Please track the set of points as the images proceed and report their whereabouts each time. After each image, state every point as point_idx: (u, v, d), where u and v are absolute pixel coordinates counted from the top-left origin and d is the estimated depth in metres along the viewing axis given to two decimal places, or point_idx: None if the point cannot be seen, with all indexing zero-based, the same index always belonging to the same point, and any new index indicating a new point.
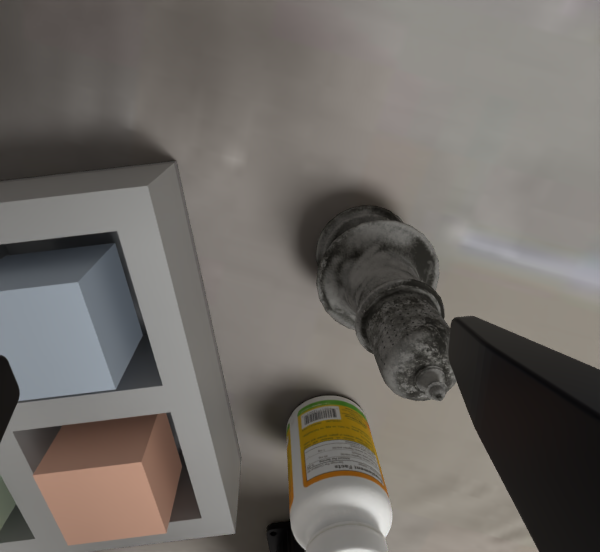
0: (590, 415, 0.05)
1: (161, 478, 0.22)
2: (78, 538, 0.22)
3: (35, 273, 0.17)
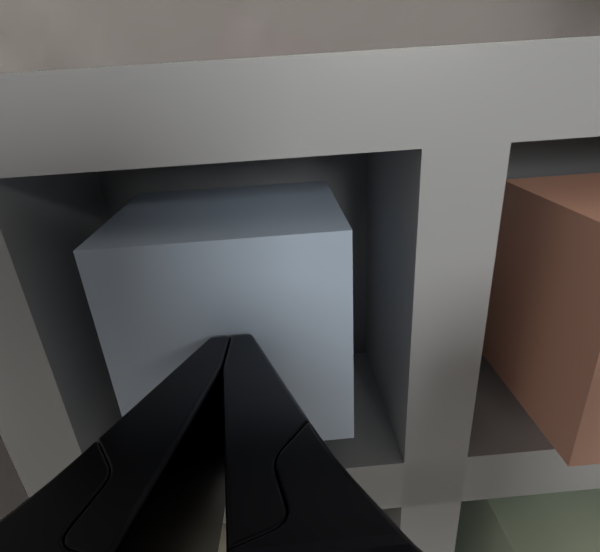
0: (227, 448, 0.05)
1: None
2: None
3: None
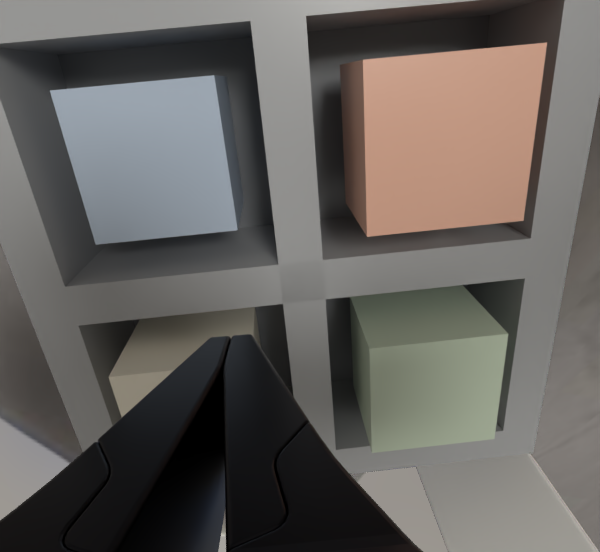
0: (227, 448, 0.05)
1: None
2: (513, 201, 0.13)
3: None
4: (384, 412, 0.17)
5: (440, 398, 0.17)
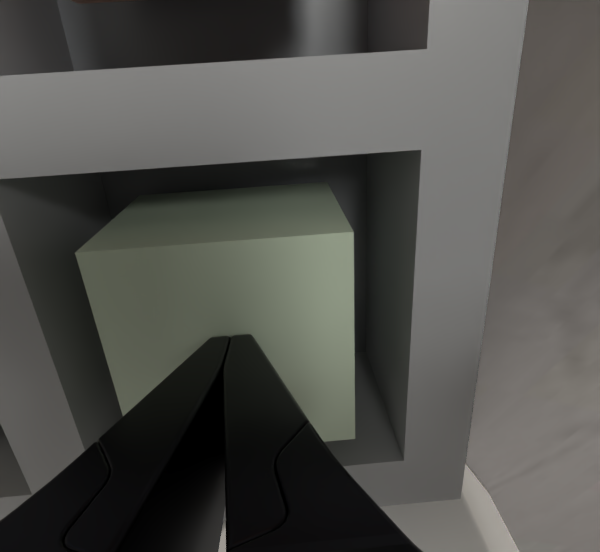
0: (227, 447, 0.05)
1: None
2: None
3: None
4: (138, 384, 0.09)
5: None
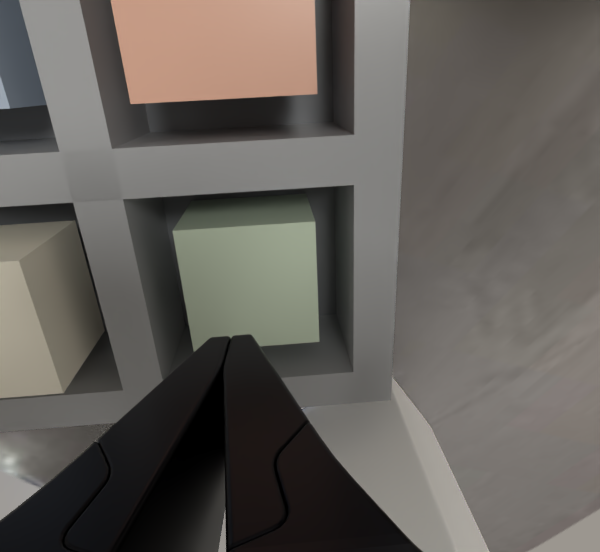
0: (227, 448, 0.05)
1: None
2: (301, 68, 0.12)
3: None
4: (199, 305, 0.16)
5: (256, 292, 0.16)
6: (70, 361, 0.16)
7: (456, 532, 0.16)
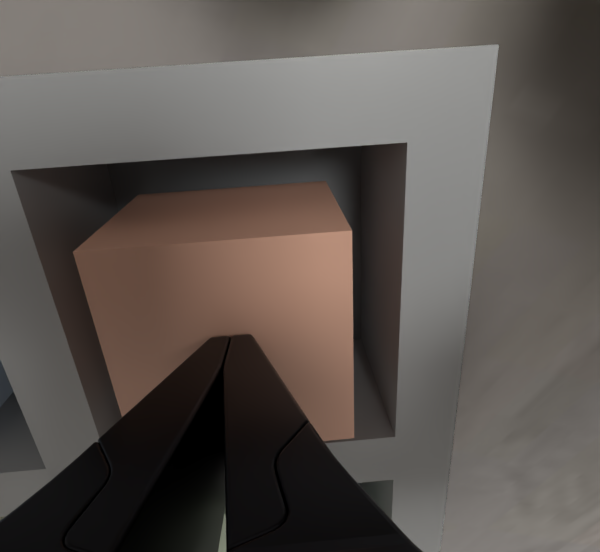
0: (227, 448, 0.05)
1: (227, 219, 0.09)
2: (336, 417, 0.10)
3: None
4: None
5: None
6: None
7: None
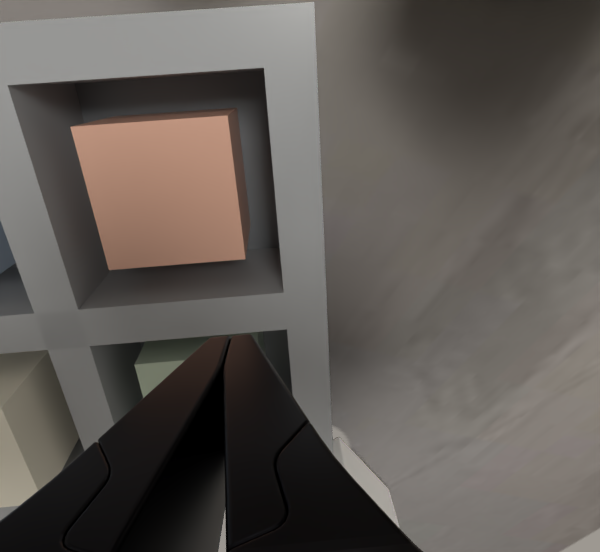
0: (227, 448, 0.05)
1: (162, 117, 0.15)
2: (232, 243, 0.16)
3: None
4: None
5: None
6: (50, 472, 0.18)
7: None
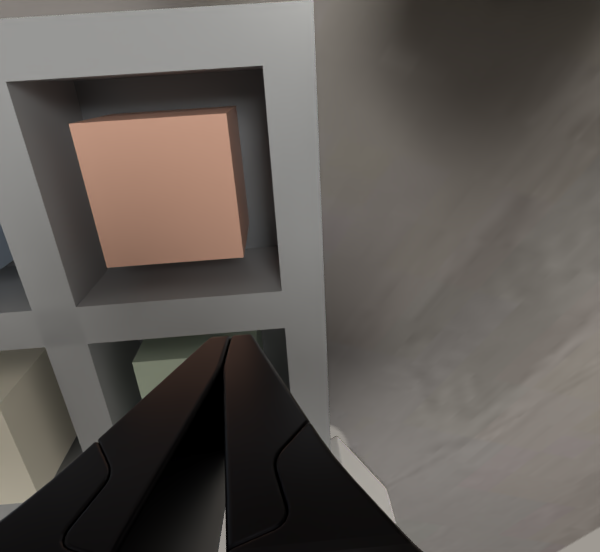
0: (227, 448, 0.05)
1: (160, 115, 0.15)
2: (230, 241, 0.16)
3: None
4: None
5: None
6: (47, 469, 0.18)
7: None
